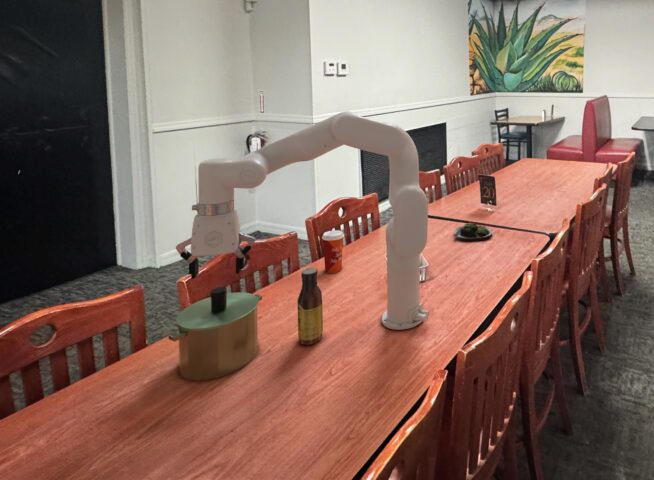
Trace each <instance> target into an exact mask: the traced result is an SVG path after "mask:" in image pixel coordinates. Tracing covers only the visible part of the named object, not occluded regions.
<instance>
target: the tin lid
mask: <svg viewBox="0 0 654 480" xmlns="http://www.w3.org/2000/svg"><path fill="white" fill-rule="evenodd" d="M227 291H228V289H227V287H226V286H218V287H215V288H212V289H211V290H210V296H208V297H205V298H203V299H200V300H198V301H196V302H194V303H192V304H190V305H188V306H187V307H185V308H184V309H183V310H181V311H180V312H179V313H178V314H177V316H176V319H175V323H176V326H177V327H180V328H181V329H184V330H190V331H202V330H210V329H215V328H220V327H223V326H226V325H229V324H232V323H235V322H237V321H239V320H241V319H243V318H245V317H247V316H248V315H250V314H251V313H252V312H253V311H254V310H255V309H256V308H257V309H258V307H259V304H260V303H259V302H260V301H258V298H257V297H256V296H255V295H256V294H253V293H250V292H243V291H242V292H238V291H236V292H227Z"/></svg>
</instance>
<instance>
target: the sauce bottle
mask: <svg viewBox="0 0 654 480" xmlns="http://www.w3.org/2000/svg"><path fill="white" fill-rule="evenodd" d="M301 282H302V284H301V289H300V292H299V295H298V297H297V300H296V301H297V337H298V341H299V344H300V345H306V346H307V345H313V344H316V343H318V342H319V341H320V340H321V339H322V337H323V331H324V319H323V317H324V315H323V313H324V311H323V293H322V290H321V288H320V287H319V286H318V268H317V267H314V266H313V267H306V268H305V269H303V270H301Z"/></svg>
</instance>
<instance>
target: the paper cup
mask: <svg viewBox="0 0 654 480" xmlns="http://www.w3.org/2000/svg"><path fill="white" fill-rule="evenodd" d="M344 237H345V234H344V232H343V231H342V230H339V229H334V230H333V229H332V230H328V231H325V232H323V234H322V237H321V240H322V245H323V260H324V270H325V273H327V274H336V273H339V272H340V271H342V267H343V266H342V262H343V248H344V247H343V246H344Z"/></svg>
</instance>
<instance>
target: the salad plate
mask: <svg viewBox="0 0 654 480" xmlns="http://www.w3.org/2000/svg"><path fill="white" fill-rule="evenodd" d="M492 235H493V232H492V231H491V228H490V227H489V226H487V225H485V224H484V225H483V224H477V223H476V222H473V223H471V222H466V223H464V225H462V226H457V227H455V229H454V234H453V238H456V239H457V240H459V241H462V242H481V241H486V240H489V239H490V238H491V237H492Z"/></svg>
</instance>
